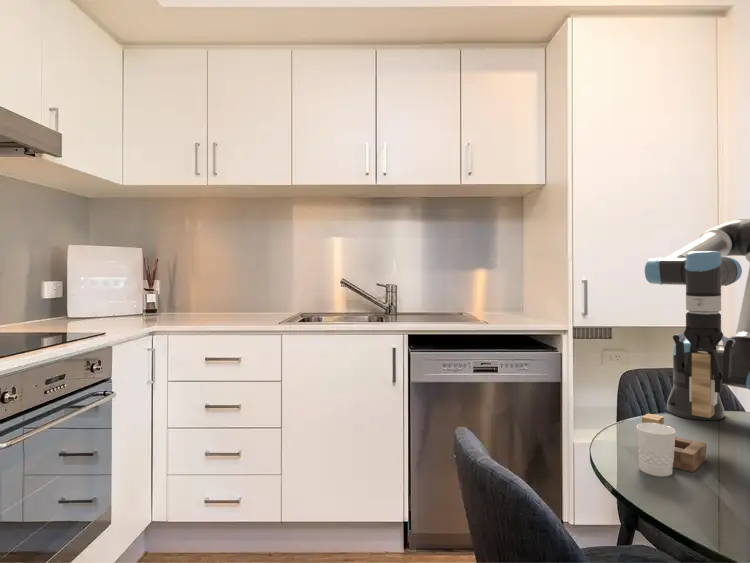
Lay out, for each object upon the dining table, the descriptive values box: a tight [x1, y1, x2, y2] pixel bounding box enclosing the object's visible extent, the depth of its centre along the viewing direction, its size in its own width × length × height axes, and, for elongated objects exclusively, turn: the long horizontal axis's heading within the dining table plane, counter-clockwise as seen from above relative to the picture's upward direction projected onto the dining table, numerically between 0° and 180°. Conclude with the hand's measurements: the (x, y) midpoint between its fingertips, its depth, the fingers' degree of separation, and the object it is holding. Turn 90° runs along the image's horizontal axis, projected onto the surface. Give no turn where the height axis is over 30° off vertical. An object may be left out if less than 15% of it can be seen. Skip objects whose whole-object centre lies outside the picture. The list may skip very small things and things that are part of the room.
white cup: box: [636, 422, 676, 477], centre depth 117 cm, size 8×8×10 cm
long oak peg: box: [692, 351, 715, 418], centre depth 129 cm, size 4×4×16 cm
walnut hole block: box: [673, 436, 707, 473], centre depth 122 cm, size 10×10×4 cm
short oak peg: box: [641, 413, 665, 425], centre depth 134 cm, size 4×4×7 cm
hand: (703, 402), depth 129 cm, fingers closed on long oak peg, 4 cm apart
